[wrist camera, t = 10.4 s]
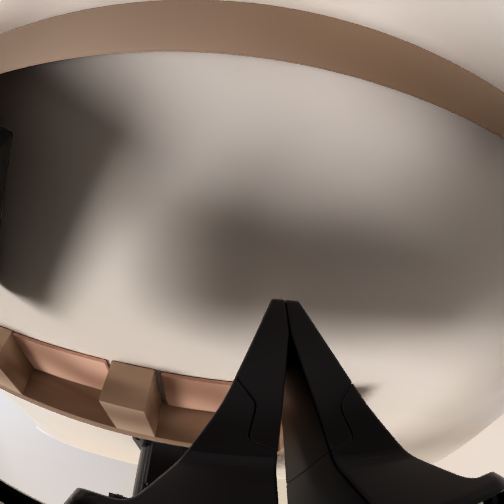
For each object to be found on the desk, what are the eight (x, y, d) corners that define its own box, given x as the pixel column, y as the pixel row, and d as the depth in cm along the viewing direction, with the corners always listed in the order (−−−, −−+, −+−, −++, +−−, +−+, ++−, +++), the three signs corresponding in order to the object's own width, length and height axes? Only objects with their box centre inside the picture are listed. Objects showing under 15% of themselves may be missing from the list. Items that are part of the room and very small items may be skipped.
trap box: (340, 421, 18) (344, 459, 16) (-20, 348, 16) (-34, 375, 14) (519, 116, 6) (580, 151, 4) (-109, 103, 5) (-145, 125, 2)
